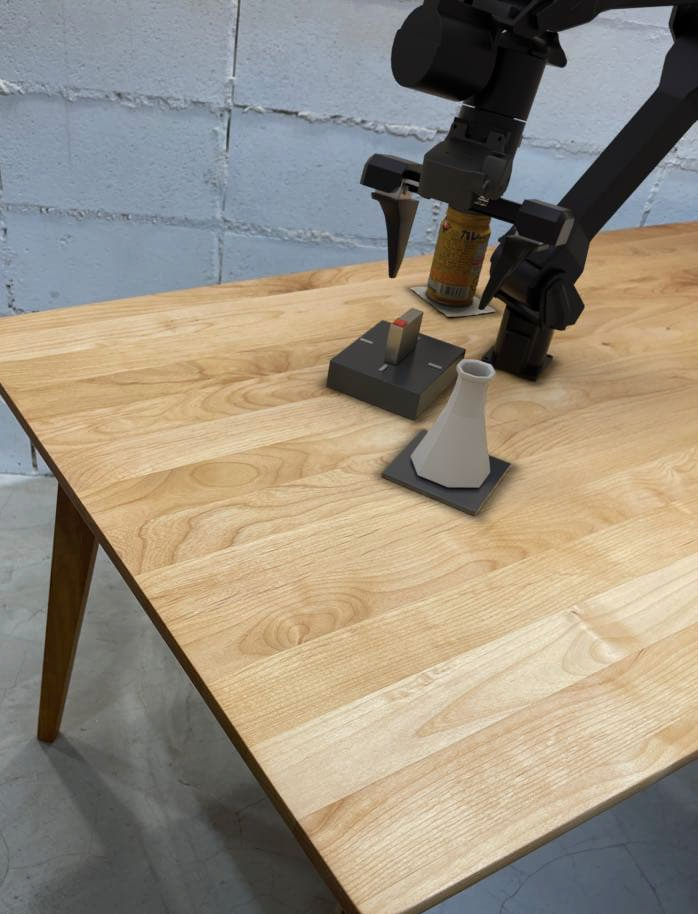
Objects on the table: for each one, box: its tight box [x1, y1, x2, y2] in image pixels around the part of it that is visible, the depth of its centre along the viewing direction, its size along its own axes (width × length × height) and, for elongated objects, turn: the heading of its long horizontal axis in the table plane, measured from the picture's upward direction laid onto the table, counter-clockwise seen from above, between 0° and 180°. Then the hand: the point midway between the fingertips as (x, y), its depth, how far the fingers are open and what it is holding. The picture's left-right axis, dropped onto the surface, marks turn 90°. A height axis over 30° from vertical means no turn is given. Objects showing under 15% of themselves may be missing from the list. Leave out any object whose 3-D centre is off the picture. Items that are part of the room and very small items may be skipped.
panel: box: [325, 319, 467, 421], centre depth 87 cm, size 12×10×3 cm
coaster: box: [380, 428, 512, 517], centre depth 76 cm, size 9×9×1 cm
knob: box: [384, 307, 425, 365], centre depth 84 cm, size 5×1×4 cm, turn 149°
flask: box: [411, 358, 497, 487], centre depth 72 cm, size 7×7×10 cm
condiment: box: [410, 196, 496, 318], centre depth 101 cm, size 7×8×12 cm
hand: (435, 293), depth 79 cm, fingers open, 9 cm apart
